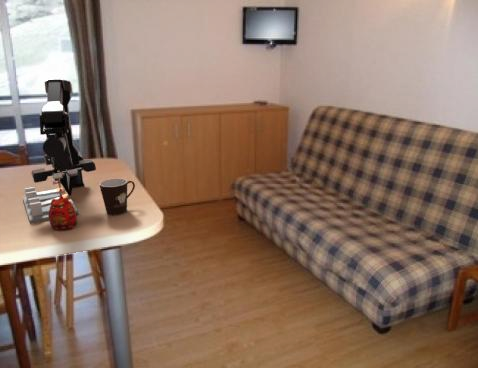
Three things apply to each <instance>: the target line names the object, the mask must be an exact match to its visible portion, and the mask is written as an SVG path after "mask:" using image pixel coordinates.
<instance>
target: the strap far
mask: <svg viewBox="0 0 478 368" xmlns="http://www.w3.org/2000/svg"><path fill="white" fill-rule="evenodd" d="M59 189H60V188H59V187H56V189H50V190H42V191H36V193H37V197H40V196H47V195H53V194H60V191H59ZM61 189H62V191H61V193H66V191H65V189H64V187H63V186H61Z"/></svg>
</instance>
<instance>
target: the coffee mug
mask: <svg viewBox="0 0 478 368" xmlns="http://www.w3.org/2000/svg"><path fill="white" fill-rule="evenodd" d="M128 184H132V189H131V191H130V192H129V193H128ZM135 187H136V184H135V182H134V181H132V180H129V181H128V179H125V178H121V177H120V178H119V177H118V178H116V177H115V178H108V179H105V180H102V181H100V182H99V188H100V192H101V196H102V200H103V204H104V208H105V212H106V214H107V215H109V216H120V215H124V214H125V213H127V212H128V198H129V197H130V196H131V195H132V193H133V192H134V190H135Z"/></svg>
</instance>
